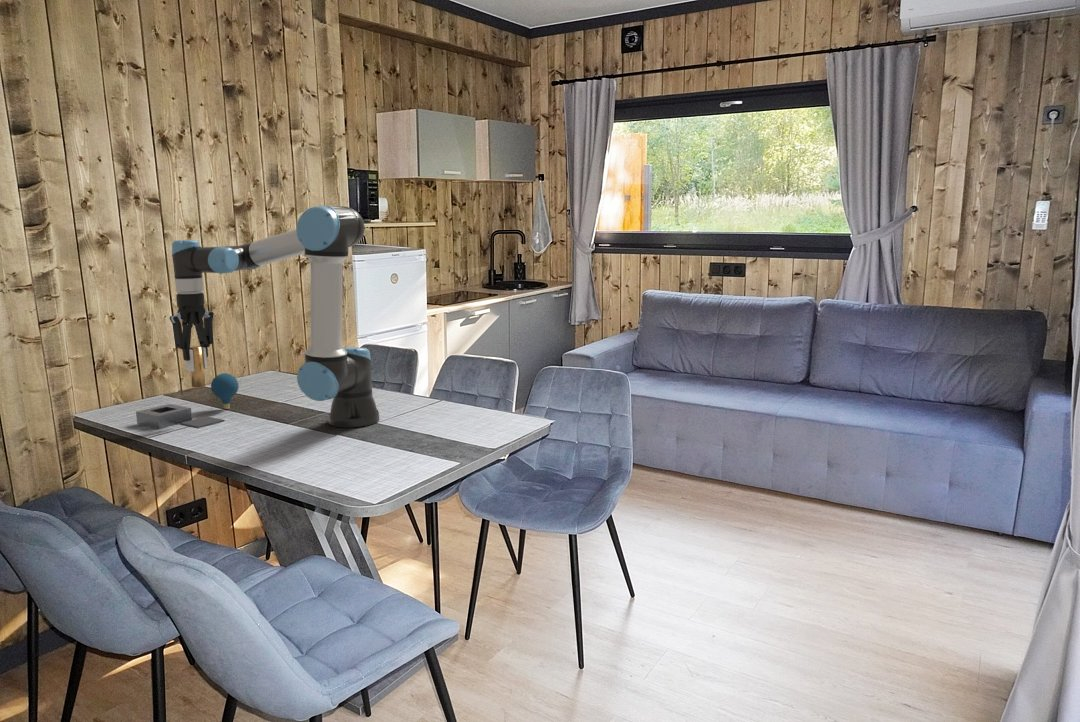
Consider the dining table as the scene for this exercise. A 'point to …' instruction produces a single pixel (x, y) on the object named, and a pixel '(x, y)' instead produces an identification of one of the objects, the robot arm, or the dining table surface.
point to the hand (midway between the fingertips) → (197, 369)
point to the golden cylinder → (197, 367)
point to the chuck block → (163, 416)
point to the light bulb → (224, 388)
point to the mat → (202, 422)
